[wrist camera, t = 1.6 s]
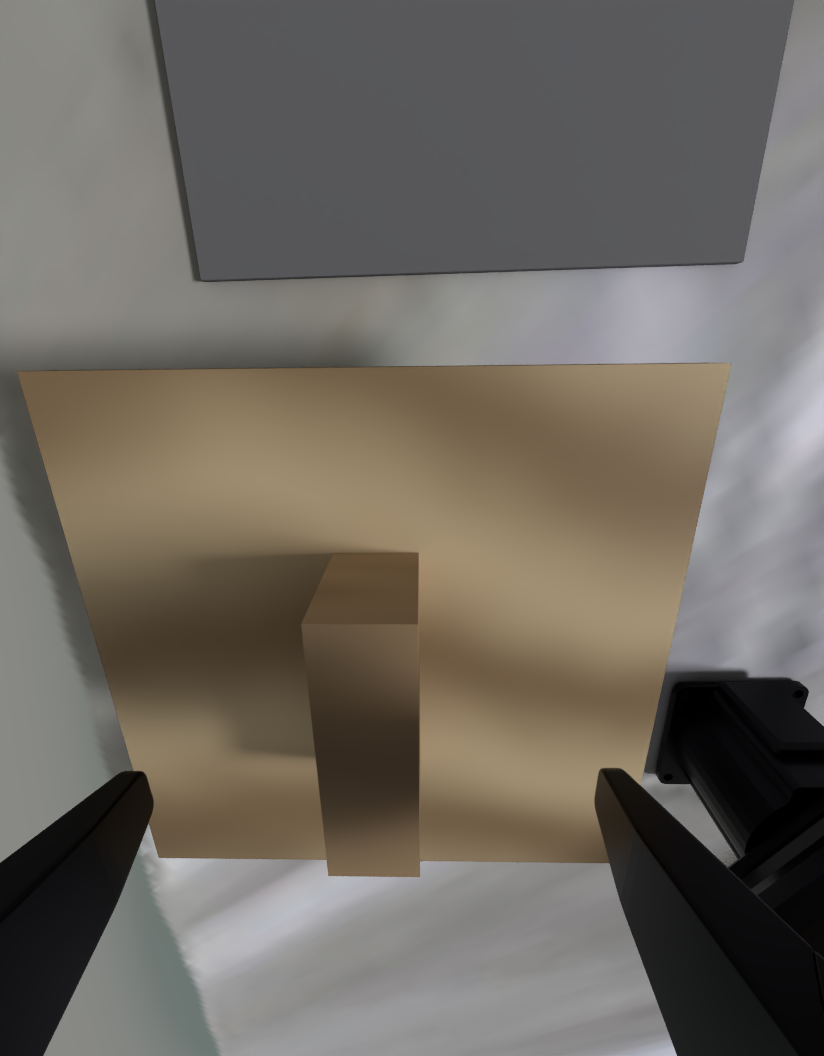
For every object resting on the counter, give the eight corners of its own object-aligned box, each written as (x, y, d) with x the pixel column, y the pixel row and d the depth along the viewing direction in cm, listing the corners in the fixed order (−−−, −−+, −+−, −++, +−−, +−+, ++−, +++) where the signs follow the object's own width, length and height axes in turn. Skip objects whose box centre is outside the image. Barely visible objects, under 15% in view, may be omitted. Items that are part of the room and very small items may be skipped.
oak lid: (612, 834, 17) (675, 992, 12) (173, 830, 17) (93, 982, 13) (705, 363, 11) (875, 365, 7) (50, 370, 11) (-162, 377, 7)
